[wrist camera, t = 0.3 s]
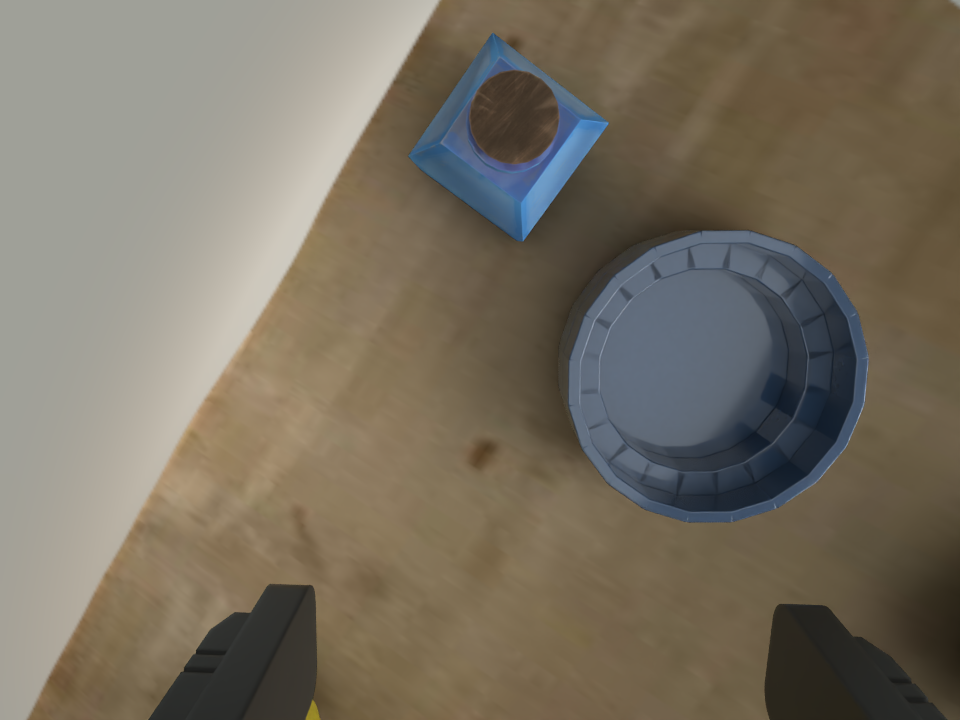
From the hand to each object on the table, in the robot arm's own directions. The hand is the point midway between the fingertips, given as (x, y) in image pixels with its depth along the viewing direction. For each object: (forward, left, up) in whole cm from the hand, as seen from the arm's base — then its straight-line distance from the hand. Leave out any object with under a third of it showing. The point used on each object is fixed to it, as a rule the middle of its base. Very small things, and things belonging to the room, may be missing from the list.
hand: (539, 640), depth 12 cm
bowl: (0, +10, -26) cm, 28 cm away
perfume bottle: (-11, 0, -27) cm, 29 cm away
